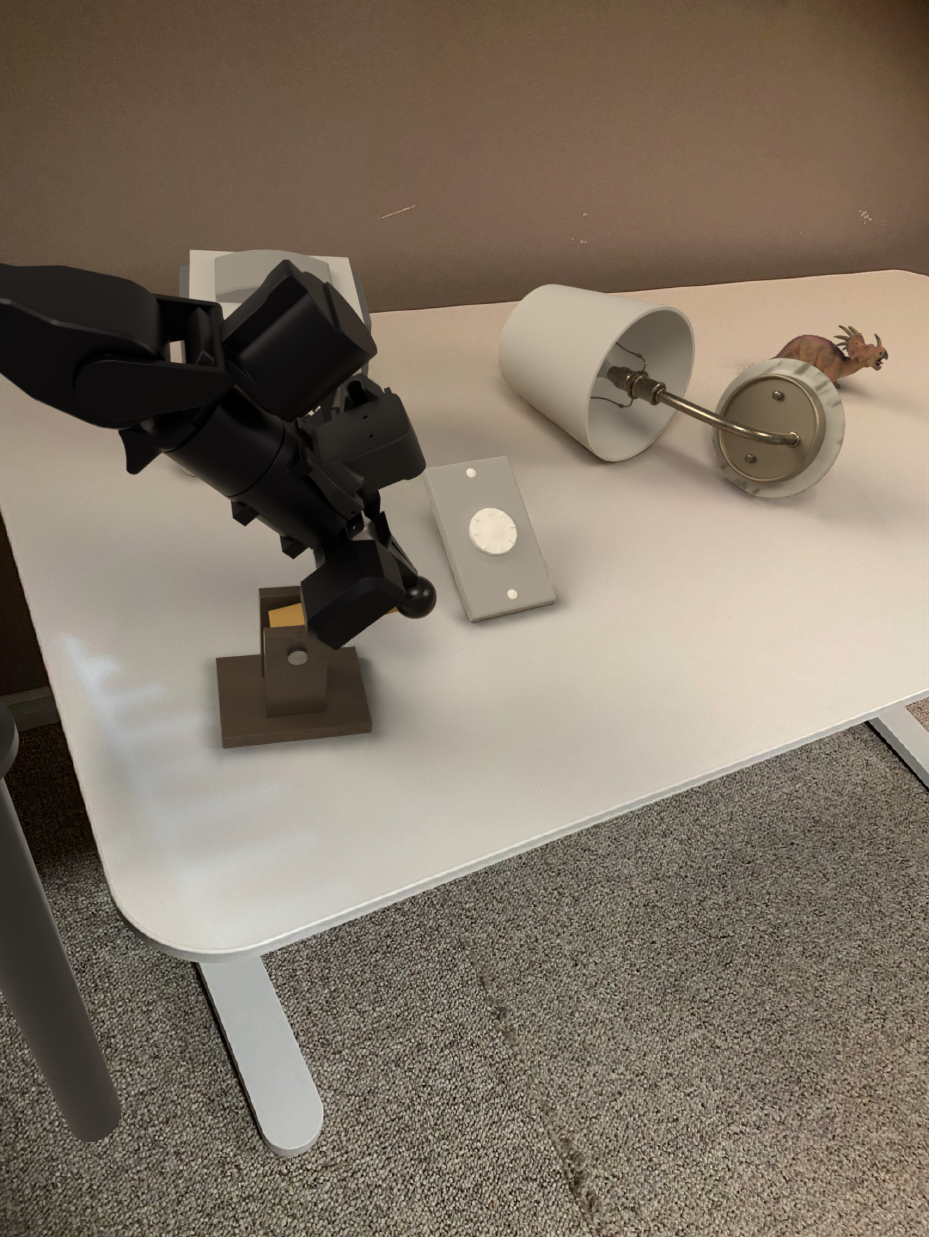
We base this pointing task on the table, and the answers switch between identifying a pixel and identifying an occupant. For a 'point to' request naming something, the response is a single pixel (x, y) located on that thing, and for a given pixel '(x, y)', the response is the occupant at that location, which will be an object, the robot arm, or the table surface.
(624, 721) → the table surface
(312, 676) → the switch bracket
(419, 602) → the lever
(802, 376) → the light fixture
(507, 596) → the light switch
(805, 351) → the dinosaur figurine
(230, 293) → the alarm clock
